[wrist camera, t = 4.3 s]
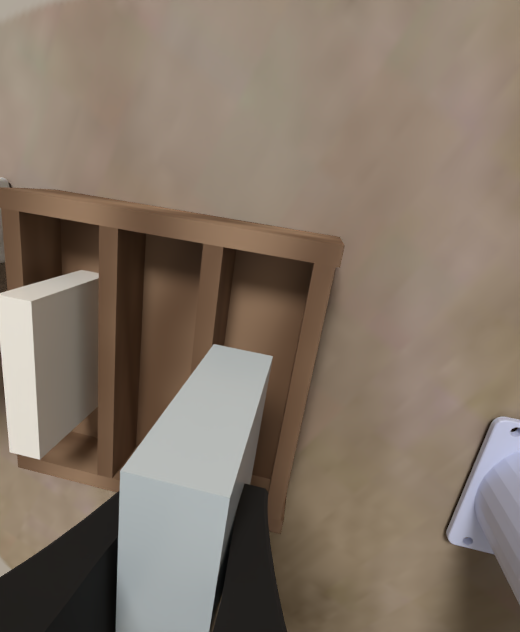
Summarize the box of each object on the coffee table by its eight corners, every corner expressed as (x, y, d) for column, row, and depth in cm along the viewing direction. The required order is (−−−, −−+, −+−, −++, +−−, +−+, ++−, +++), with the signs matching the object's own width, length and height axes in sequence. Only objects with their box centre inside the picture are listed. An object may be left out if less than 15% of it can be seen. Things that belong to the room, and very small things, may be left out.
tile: (108, 274, 18) (30, 301, 13) (106, 398, 20) (40, 459, 15) (81, 269, 18) (-4, 294, 13) (82, 393, 20) (9, 451, 15)
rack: (339, 236, 16) (344, 245, 13) (286, 481, 21) (280, 533, 18) (55, 189, 18) (-5, 187, 15) (62, 427, 22) (18, 467, 19)
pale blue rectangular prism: (272, 356, 12) (229, 498, 6) (244, 518, 14) (193, 730, 8) (213, 344, 12) (120, 470, 6) (194, 505, 14) (113, 704, 9)
